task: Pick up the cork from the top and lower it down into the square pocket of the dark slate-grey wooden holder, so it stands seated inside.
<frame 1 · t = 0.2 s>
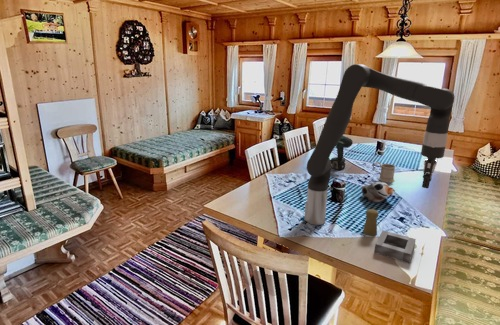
hand: (426, 184, 122), 28 cm above the table, tool pointing down, fingers open, 8 cm apart
mug: (382, 179, 208), on the table
square holder: (394, 250, 129), on the table
power drill: (333, 167, 233), on the table
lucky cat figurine: (376, 199, 178), on the table
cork: (369, 232, 143), on the table
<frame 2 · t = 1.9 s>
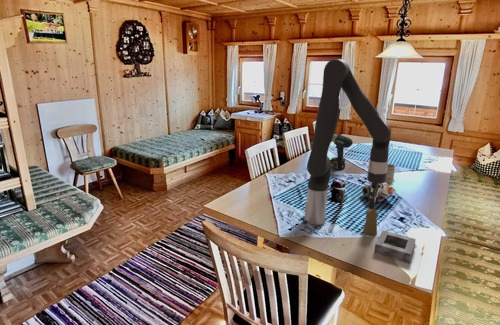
hand: (373, 205, 139), 14 cm above the table, tool pointing down, fingers open, 8 cm apart
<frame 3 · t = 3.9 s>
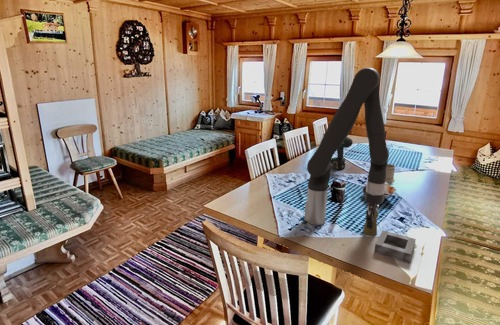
hand: (370, 226, 142), 3 cm above the table, tool pointing down, fingers closed on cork, 4 cm apart
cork: (369, 232, 143), on the table, touching gripper
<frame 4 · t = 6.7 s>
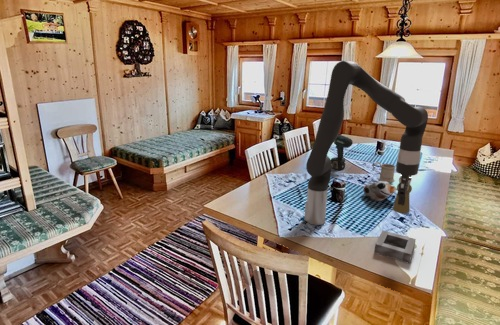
hand: (401, 202, 123), 21 cm above the table, tool pointing down, fingers closed on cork, 4 cm apart
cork: (400, 210, 124), point 18 cm above the table, touching gripper
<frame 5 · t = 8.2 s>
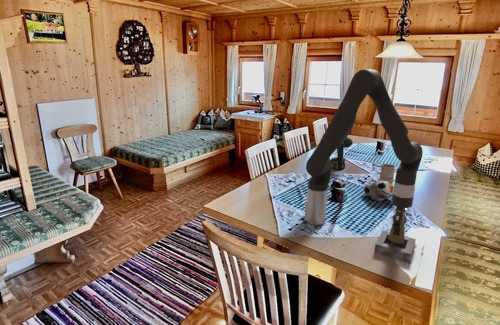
hand: (397, 232, 127), 8 cm above the table, tool pointing down, fingers closed on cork, 4 cm apart
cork: (396, 239, 128), point 5 cm above the table, touching gripper
when the fingers open (6 cm above the table, at t = 9.4 s): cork drops 2 cm, resting on square holder.
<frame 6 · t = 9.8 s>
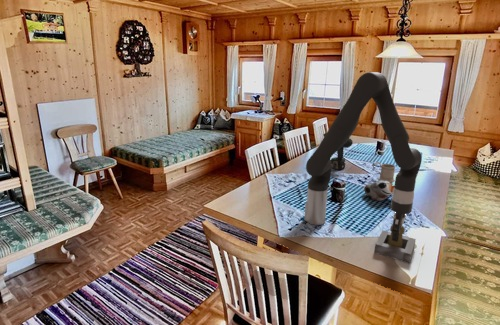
hand: (396, 236, 127), 6 cm above the table, tool pointing down, fingers open, 7 cm apart
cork: (394, 250, 129), resting on square holder
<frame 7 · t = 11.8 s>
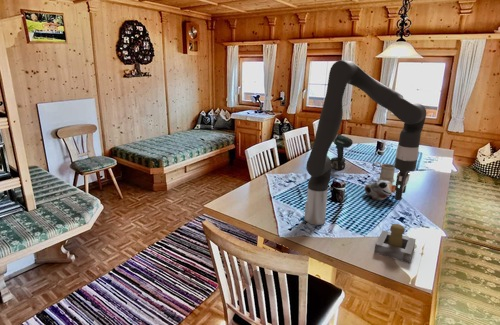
hand: (399, 196, 125), 23 cm above the table, tool pointing down, fingers open, 8 cm apart
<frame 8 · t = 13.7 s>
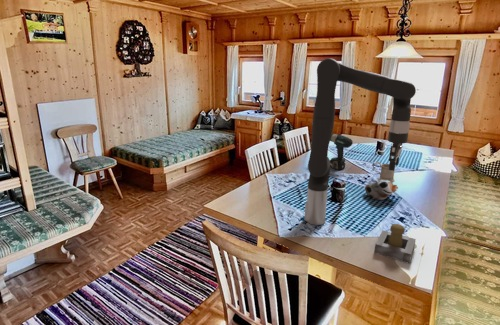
hand: (393, 167, 137), 30 cm above the table, tool pointing down, fingers open, 8 cm apart
at the end: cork 0.6 cm off-centre on the square holder, point 0.3 cm above the square holder's base; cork tilted 0°; the gripper is holding nothing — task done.
